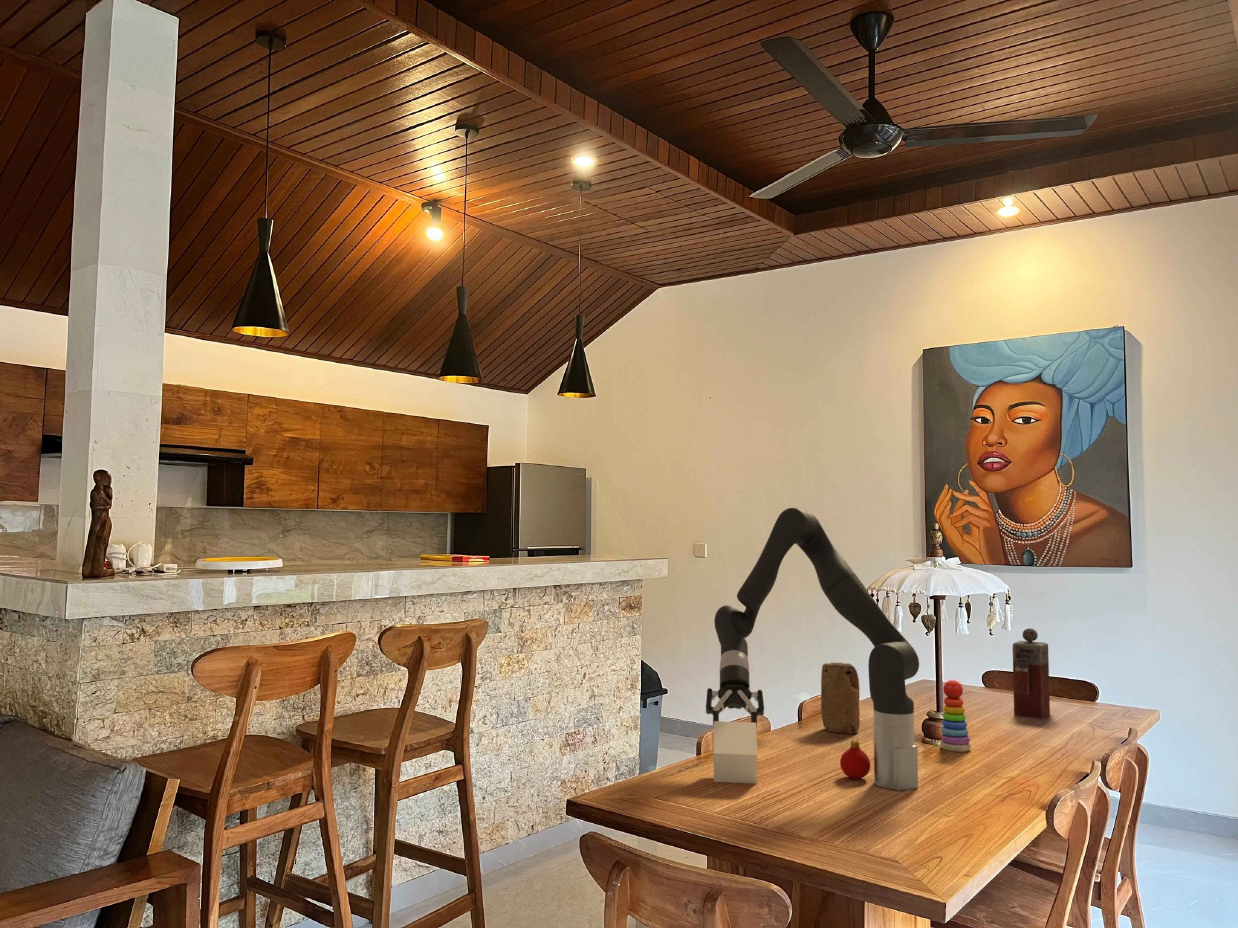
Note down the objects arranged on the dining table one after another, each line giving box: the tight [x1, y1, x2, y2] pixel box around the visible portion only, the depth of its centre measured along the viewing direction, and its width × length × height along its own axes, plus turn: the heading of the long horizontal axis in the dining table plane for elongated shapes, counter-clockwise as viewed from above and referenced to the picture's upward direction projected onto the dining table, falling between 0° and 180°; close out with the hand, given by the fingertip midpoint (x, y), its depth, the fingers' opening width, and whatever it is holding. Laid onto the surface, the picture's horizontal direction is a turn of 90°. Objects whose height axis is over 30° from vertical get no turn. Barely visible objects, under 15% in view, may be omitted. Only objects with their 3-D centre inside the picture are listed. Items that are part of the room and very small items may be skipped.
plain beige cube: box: [713, 721, 758, 785], centre depth 214 cm, size 10×10×10 cm
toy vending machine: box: [1012, 627, 1051, 719], centre depth 294 cm, size 9×11×28 cm
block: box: [820, 662, 861, 735], centre depth 268 cm, size 11×8×20 cm
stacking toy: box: [939, 679, 972, 753], centre depth 247 cm, size 8×8×19 cm
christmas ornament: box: [839, 736, 871, 780], centre depth 217 cm, size 7×7×10 cm
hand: (735, 727), depth 217 cm, fingers open, 8 cm apart
